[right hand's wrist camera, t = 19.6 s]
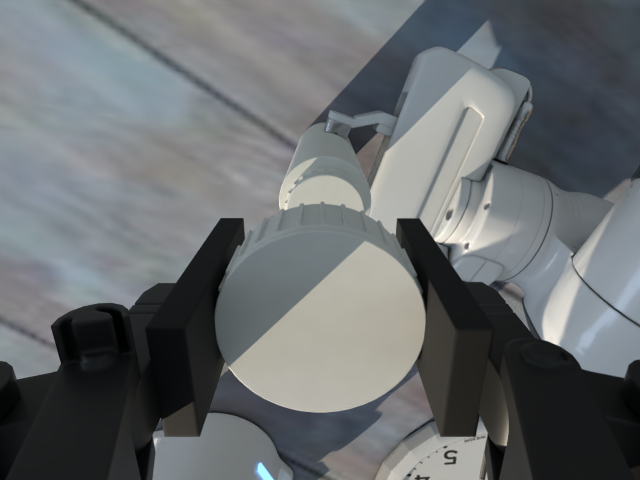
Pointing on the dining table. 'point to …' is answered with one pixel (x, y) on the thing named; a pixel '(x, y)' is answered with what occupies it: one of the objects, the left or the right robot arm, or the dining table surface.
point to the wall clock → (436, 456)
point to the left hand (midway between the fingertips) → (313, 160)
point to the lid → (320, 309)
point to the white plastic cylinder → (325, 173)
